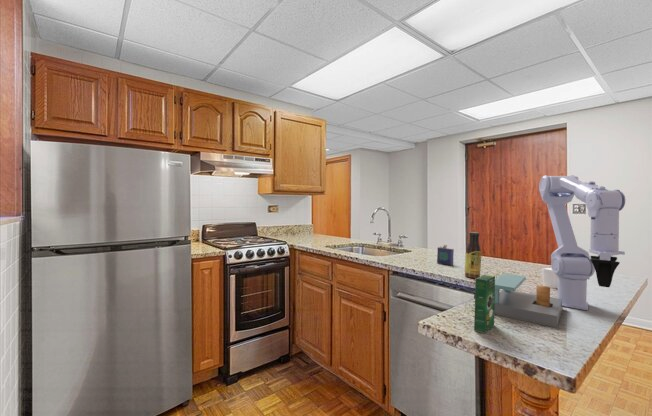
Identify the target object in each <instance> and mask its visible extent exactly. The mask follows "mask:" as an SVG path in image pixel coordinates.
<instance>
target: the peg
mask: <svg viewBox="0 0 652 416" xmlns="http://www.w3.org/2000/svg"><path fill="white" fill-rule="evenodd" d="M535 295H536V305H541V306H546V307H550V297H551V288H550V287H547V286H543V284H542V285H536V293H535Z"/></svg>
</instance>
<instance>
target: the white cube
mask: <svg viewBox="0 0 652 416" xmlns="http://www.w3.org/2000/svg"><path fill="white" fill-rule="evenodd" d="M541 276H542V286H547V287H550V289H556V290H558V276H557V275H556V274H555V273H554V272H553V270H552V267H542V268H541Z"/></svg>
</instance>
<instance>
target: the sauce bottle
mask: <svg viewBox="0 0 652 416" xmlns="http://www.w3.org/2000/svg"><path fill="white" fill-rule="evenodd" d="M468 234H469V235H468V236H469V240H468V241H469V242H468V244H466V248H465V261H464V262H465V265H464V275H465V278H466V277H467V278H470V279H476V278H478V277H480V276H481V268H482V267H481V265H482V249H481V246H480V242H479V240H480V233H479V232H475V231H474V232H473V231H471V232H470V231H469V233H468Z"/></svg>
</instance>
